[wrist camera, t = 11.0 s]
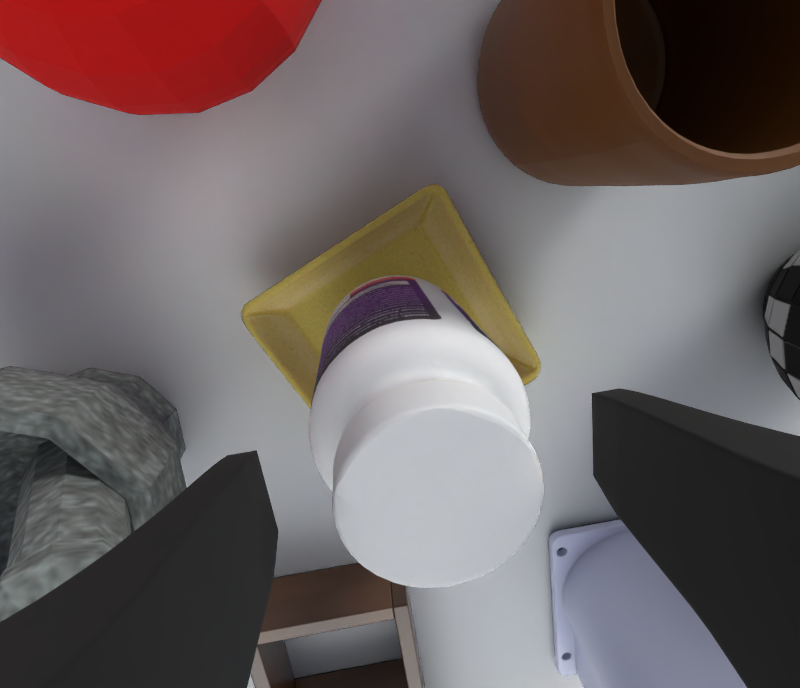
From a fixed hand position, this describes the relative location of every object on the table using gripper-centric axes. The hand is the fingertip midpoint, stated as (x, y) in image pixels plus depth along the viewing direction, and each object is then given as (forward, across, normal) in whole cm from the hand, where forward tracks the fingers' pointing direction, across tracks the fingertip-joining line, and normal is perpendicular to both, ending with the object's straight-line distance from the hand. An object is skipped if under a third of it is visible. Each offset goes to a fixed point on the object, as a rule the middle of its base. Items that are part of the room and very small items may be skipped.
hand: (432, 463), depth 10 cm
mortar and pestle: (+11, +12, +2) cm, 16 cm away
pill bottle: (+8, 0, 0) cm, 9 cm away
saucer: (+11, 0, 0) cm, 11 cm away
